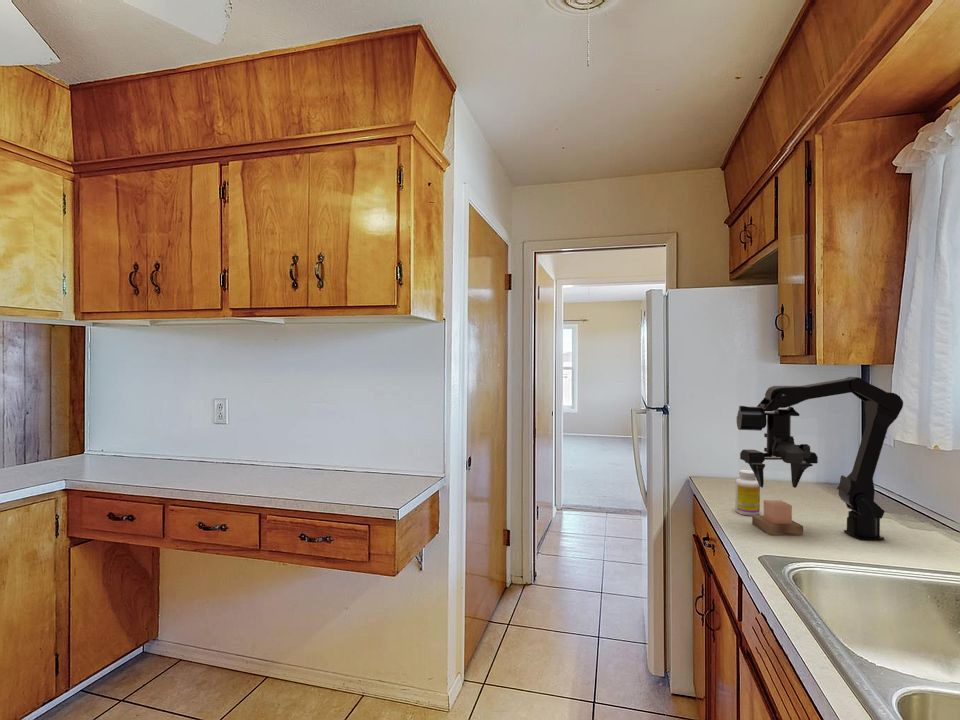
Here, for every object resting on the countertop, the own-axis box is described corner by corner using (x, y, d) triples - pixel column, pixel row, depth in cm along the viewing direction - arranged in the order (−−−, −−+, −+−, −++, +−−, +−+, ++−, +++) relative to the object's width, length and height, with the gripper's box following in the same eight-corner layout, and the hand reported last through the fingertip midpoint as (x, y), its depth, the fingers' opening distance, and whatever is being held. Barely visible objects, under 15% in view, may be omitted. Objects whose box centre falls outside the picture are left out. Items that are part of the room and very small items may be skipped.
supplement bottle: (762, 517, 155) (763, 474, 155) (738, 515, 157) (739, 473, 156) (755, 510, 162) (756, 469, 162) (732, 509, 163) (733, 468, 163)
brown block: (783, 524, 149) (783, 515, 149) (803, 535, 140) (803, 526, 140) (752, 524, 149) (752, 515, 149) (769, 535, 140) (769, 525, 140)
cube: (781, 517, 147) (781, 500, 147) (791, 523, 142) (791, 505, 142) (763, 517, 147) (763, 500, 147) (773, 523, 142) (773, 505, 142)
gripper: (760, 435, 136) (759, 495, 136) (831, 436, 136) (831, 495, 136) (739, 429, 147) (738, 484, 147) (805, 429, 147) (804, 484, 147)
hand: (777, 487), depth 144 cm, fingers open, 9 cm apart
